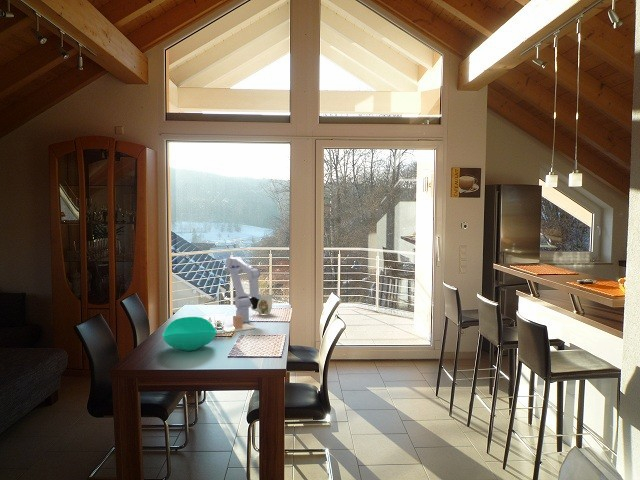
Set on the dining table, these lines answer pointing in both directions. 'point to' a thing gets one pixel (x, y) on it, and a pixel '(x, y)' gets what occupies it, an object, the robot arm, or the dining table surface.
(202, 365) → the dining table surface
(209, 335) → the table top decor
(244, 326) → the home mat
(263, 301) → the pitcher
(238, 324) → the block
